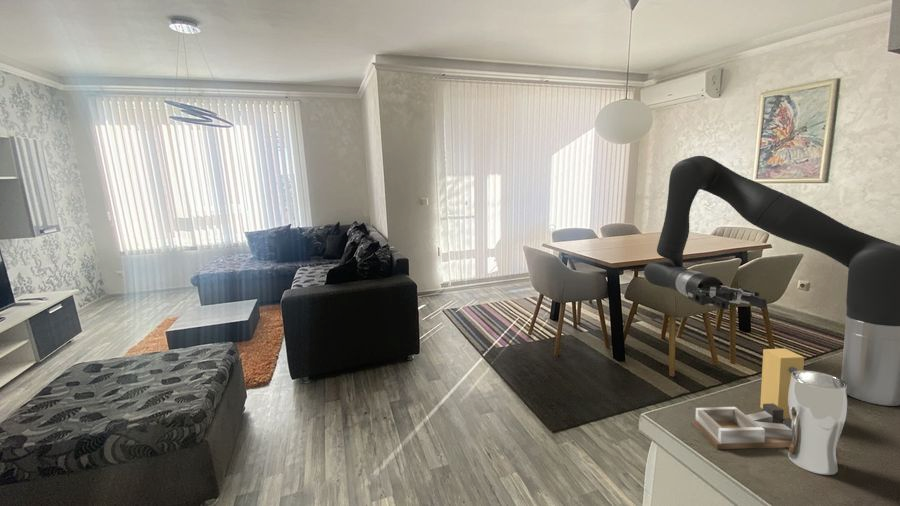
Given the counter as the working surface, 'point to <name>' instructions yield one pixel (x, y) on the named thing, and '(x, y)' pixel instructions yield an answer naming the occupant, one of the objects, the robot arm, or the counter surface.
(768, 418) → the coupling board
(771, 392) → the yellow knobbed block
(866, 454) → the counter surface
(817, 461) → the beer glass
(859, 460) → the counter surface
